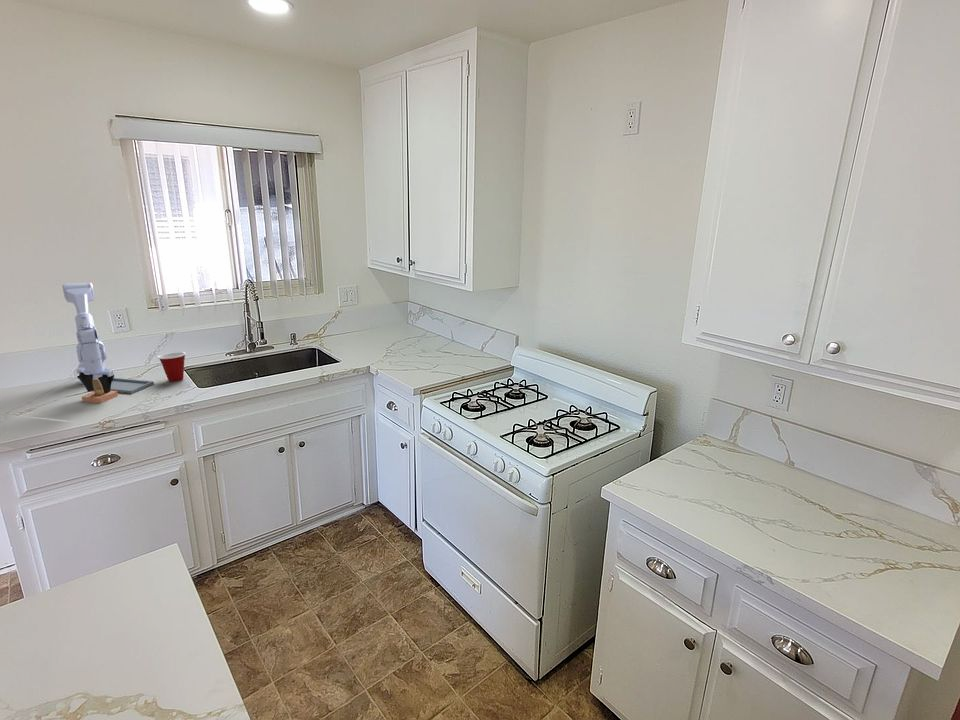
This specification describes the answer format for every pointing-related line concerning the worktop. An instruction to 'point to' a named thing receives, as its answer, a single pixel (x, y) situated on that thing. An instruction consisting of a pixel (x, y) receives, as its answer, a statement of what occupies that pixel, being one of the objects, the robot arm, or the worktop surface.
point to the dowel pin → (97, 387)
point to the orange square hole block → (99, 397)
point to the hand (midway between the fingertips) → (99, 391)
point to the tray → (129, 385)
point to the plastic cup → (173, 365)
